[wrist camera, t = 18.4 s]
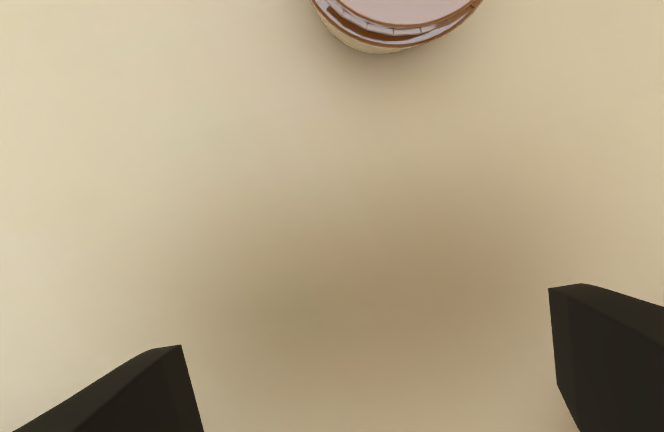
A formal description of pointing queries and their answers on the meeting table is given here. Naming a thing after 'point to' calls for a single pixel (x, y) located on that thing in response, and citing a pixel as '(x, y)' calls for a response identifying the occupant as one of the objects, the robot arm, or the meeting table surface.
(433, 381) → the meeting table surface
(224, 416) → the meeting table surface
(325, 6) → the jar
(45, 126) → the meeting table surface
